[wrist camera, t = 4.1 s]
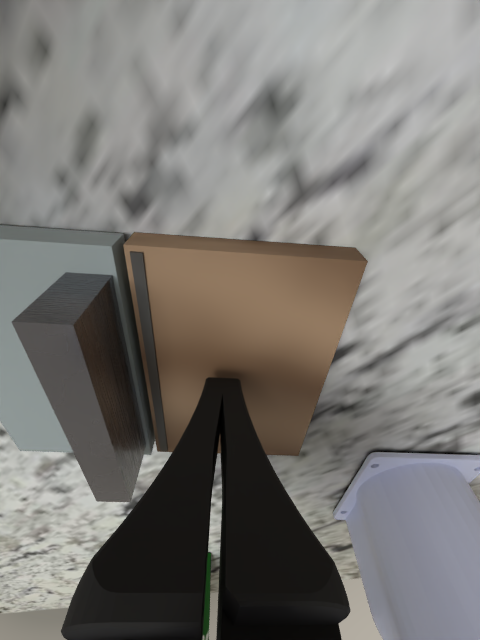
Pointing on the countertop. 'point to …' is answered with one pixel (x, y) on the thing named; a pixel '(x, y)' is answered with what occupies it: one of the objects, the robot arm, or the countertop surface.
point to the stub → (73, 354)
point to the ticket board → (239, 327)
